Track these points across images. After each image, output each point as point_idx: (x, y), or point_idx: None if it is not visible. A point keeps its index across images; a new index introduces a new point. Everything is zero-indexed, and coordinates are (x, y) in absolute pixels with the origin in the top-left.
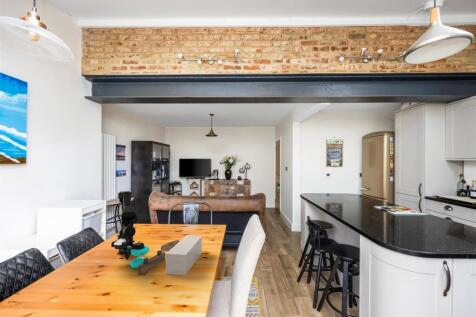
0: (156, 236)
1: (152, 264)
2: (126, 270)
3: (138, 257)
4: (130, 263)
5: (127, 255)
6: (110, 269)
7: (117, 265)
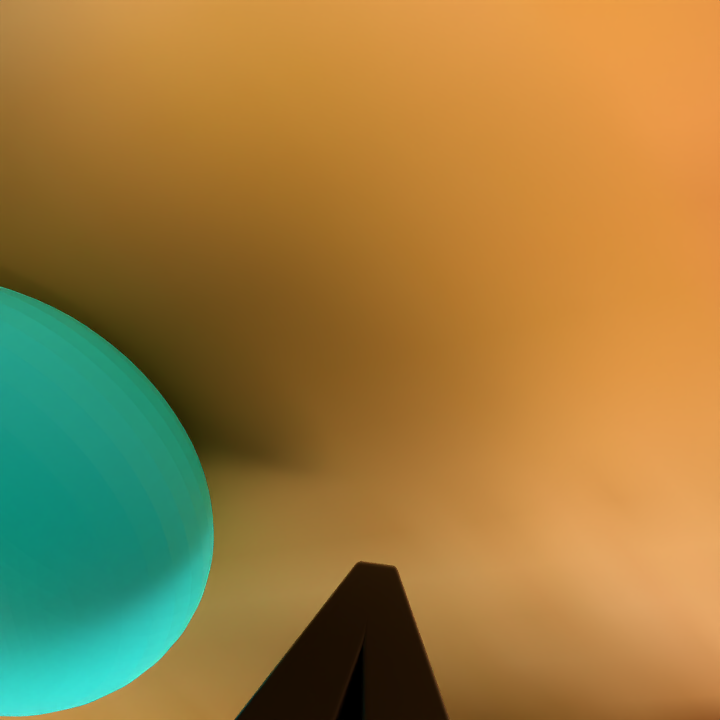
0: None
1: None
2: (80, 133)
3: (46, 684)
4: (73, 376)
5: (264, 710)
6: (630, 7)
7: (582, 357)
